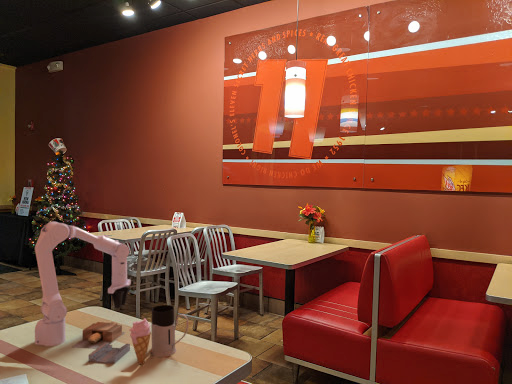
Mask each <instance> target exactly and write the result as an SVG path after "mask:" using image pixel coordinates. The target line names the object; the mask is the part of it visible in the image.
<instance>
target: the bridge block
mask: <svg viewBox="0 0 512 384" xmlns="http://www.w3.org/2000/svg"><path fill="white" fill-rule="evenodd" d="M122 326H123V325H122V324H118V323H117V322H114V323H111V322H105V321H101V322H100V321H97V322H94V323H92V324H89V326H87V327H86V328H84V329H82V339H81V340H80V341H79V342H77V343H75V344H74V345H72V346H71V347H72V348H82V349H94V350H96V349H97V348H98V347H100V346H101V345H103V344H104V343H105V342H109V345H112V343H113V342H115V341H116V340H118V339H119V338H121V336H123V335H124V334H125V333H126V332H123V327H122ZM98 331H103V338H102V339H100V340H99V341H98V342H96V343H95V344H90V343H89V341H88V338H89V337H90V336H92V335H93V334H95V333H96V332H98Z"/></svg>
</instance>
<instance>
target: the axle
mask: <svg viewBox="0 0 512 384" xmlns="http://www.w3.org/2000/svg"><path fill="white" fill-rule="evenodd" d="M110 323H115V322H114V321H111V322H110ZM102 338H103V331H98V332H96V333H95V334H93V335H92V336H90V337H89V338H88V341H89V343H90V344H95V343H96V342H98V341H99V340H100V339H102Z"/></svg>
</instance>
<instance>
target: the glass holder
mask: <svg viewBox="0 0 512 384" xmlns="http://www.w3.org/2000/svg"><path fill="white" fill-rule="evenodd" d="M181 316H182V317H184V319H185V320H186V328H185V331H184V333H183V335H182V337H181V338H179V339H178V340H177V341H176V327H177V326H178V323H179V318H180V317H181ZM150 319H151V322H150V323H151V325H150V327H151V328H150V330H151V353H150V355H151V356H152V357H155V358H166V357H170V356H172V355H174V354H176V353H177V348H176V344H178V343H179V342H180V341H181V340H182V339H183V338H184V337H186V335H187V332H188V330H189V329H188V328H189V318H188V316H186V315H185V314H184V313H183V314H182V313H181V314H179V315H178V316H177V317H176V319H175V306H173V305H170V304H160V305H157V306H153V307H152V308H151V318H150Z"/></svg>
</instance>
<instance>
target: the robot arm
mask: <svg viewBox="0 0 512 384" xmlns="http://www.w3.org/2000/svg"><path fill="white" fill-rule="evenodd" d="M67 238H68V239H75V238H77V239H79V240H82V241H85V242H87V243H90V244H92V245H93V248H94V249H95V250H98V251H100V252H102V253H106V254H108V255H110V256H111V277H112V279H111V283H112V284H111V285H110V286H109V287H108V288H107V294H109V295H110V297H111V299H112V301H113V304H114V308H115V309H120V308H121V307H122V306H126V302H127V298H128V294H129V292H130V290H131V283H132V280H131V279H130V278H129V279H128V256H129V254H130V249H129V247H128V245H127V244H124V243H121V242H120V240H118V239H115V240H114V239H113V238H111V237H109V235H108V234H100V235H96V234H93V233H91V232H88V231H86V230H84V229H82V228H80V227H78V226H74V225H69V224H66V223H63V222H58V221H48V223H46V224H45V225H44V226H43V227H42V228H41V229H40V234H39V237H38V238H37V241H36V244H35V246H34V251H35V257H36V261H37V269H38V273H39V279H40V285H41V290H42V298H41V301H42V303H41V306H40V312H41V314H42V315H43V318H42V319H40V320H38V321H37V323H36V324H35V327H34V345H37V346H39V345H40V346H45V347H55V346H59V345H61V344H64V343H65V342H66V341H67V340H66V317H67V314H68V308H67V307H66V305H65V304H64V302H63V299H62V296H61V294H60V291H59V285H58V278H57V274H56V268H55V263H54V255H53V250H54V249H55V248H56V247H57V245H58V244H61V243H62V242H64V241H65V240H67Z"/></svg>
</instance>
